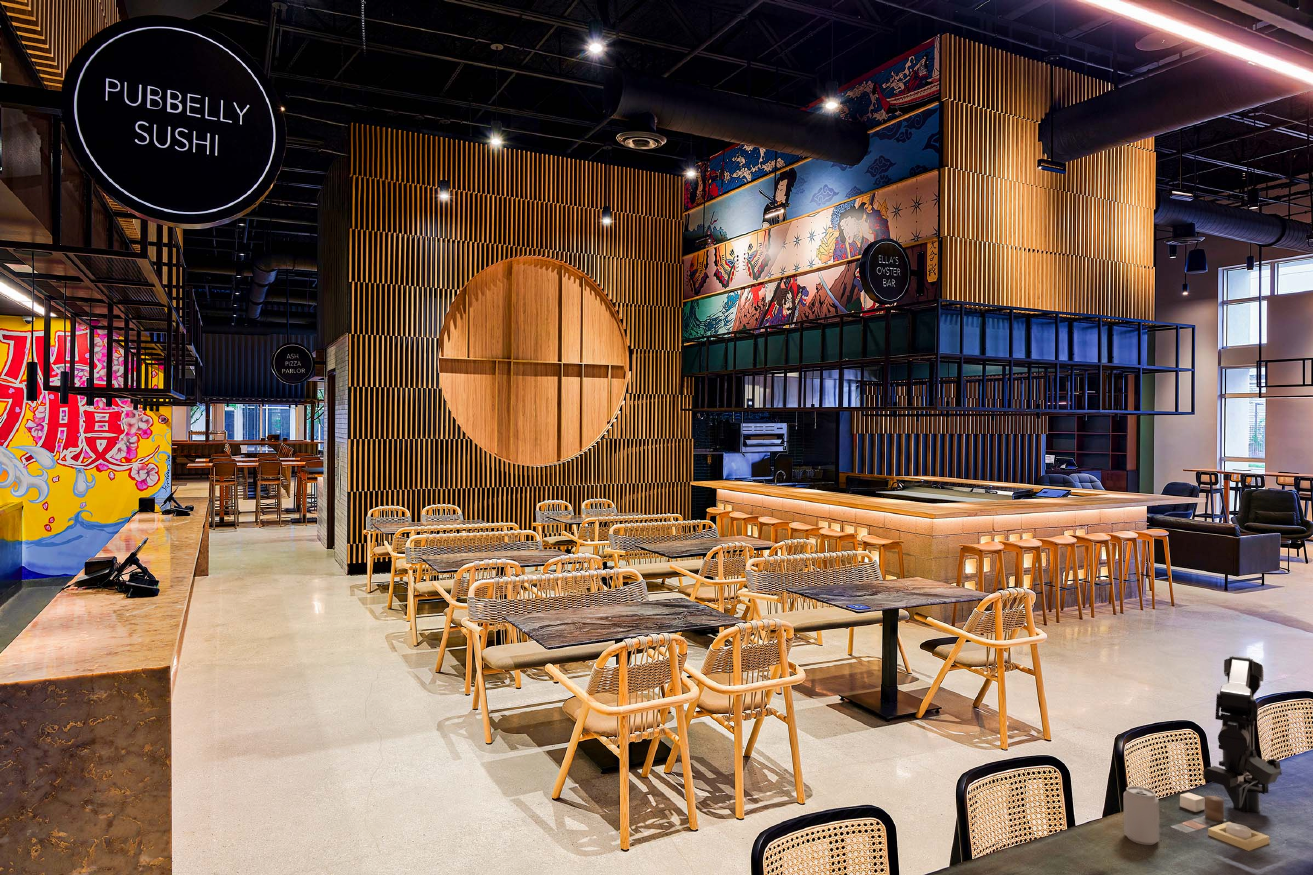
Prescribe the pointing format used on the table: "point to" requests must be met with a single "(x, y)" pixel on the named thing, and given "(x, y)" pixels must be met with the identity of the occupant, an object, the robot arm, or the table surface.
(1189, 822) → the makeup compact
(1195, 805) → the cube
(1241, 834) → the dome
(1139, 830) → the can
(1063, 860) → the table surface
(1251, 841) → the box
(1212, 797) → the brown capsule
